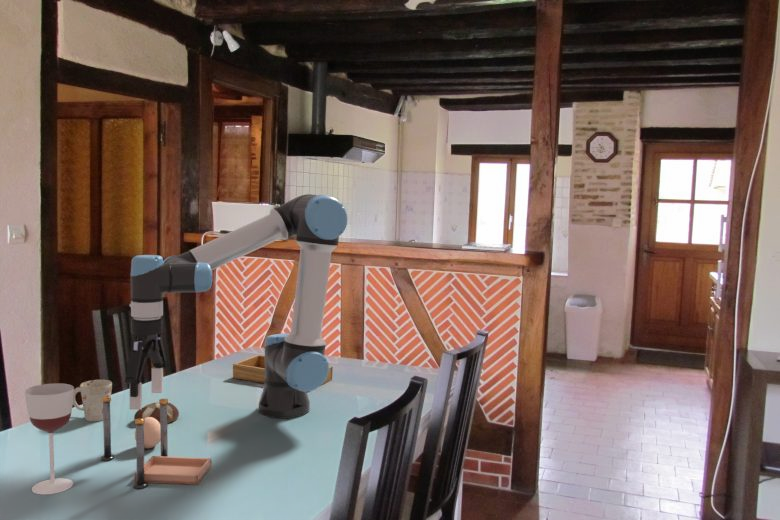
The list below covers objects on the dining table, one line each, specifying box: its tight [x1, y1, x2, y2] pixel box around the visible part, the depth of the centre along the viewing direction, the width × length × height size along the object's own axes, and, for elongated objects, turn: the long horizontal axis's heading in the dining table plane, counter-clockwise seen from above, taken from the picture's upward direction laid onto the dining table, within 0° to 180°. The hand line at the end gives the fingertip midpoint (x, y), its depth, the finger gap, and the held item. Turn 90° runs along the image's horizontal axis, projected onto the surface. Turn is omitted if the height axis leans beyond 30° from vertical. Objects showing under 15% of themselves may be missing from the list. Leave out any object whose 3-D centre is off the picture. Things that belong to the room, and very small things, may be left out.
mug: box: [73, 379, 113, 422], centre depth 198 cm, size 8×13×10 cm, turn 78°
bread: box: [133, 401, 180, 425], centre depth 197 cm, size 11×11×5 cm
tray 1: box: [134, 455, 212, 486], centre depth 161 cm, size 14×10×2 cm
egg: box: [134, 417, 161, 449], centre depth 177 cm, size 7×7×8 cm
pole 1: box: [100, 396, 115, 462], centre depth 169 cm, size 3×3×15 cm
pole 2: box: [133, 418, 149, 490], centre depth 154 cm, size 3×3×15 cm
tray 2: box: [232, 354, 333, 387], centre depth 240 cm, size 31×15×6 cm, turn 66°
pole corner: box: [158, 398, 169, 457], centre depth 168 cm, size 3×3×15 cm
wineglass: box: [24, 382, 75, 496], centre depth 153 cm, size 9×10×22 cm
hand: (146, 400), depth 176 cm, fingers open, 13 cm apart
